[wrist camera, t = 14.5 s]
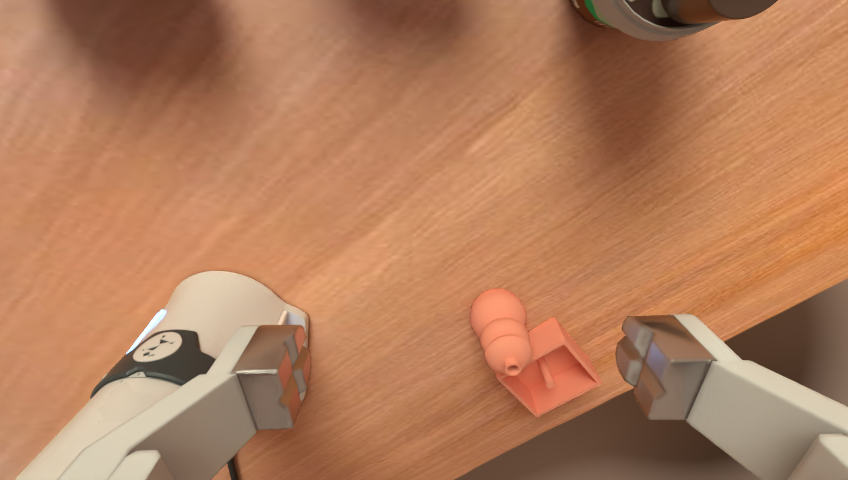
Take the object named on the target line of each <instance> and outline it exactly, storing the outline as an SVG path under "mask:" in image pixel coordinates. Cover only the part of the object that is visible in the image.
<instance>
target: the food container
mask: <svg viewBox="0 0 848 480" xmlns="http://www.w3.org/2000/svg"><path fill="white" fill-rule="evenodd" d="M570 2H571V4H572V6H573V7H574V9H575V10H576V11H577V12H578V13H579V15H580V16H581V17H582V18H583V19H584V20H586V21H588V22H590V23H592V24H594V25H596V26H598V27H605V28H617V29H619V30H620V31H621V32H623V33H625V34H627V35H630V36H632V37H634V38H638V39H642V40H646V41H668V40H676V39H679V38H683V37H686V36H689V35H692V34H694V33H697V32H699V31H701V30H704V29H706V28H708V27H710V26H713V25H715V24H717V23H719V22H721V21H718V22H708V23H699V24H682V23H679V22H676V21H674V20H673V19H671V18H670V17H669V16H668V15H667V13H666V12H665V10H664V8H663V6H662V3H661V0H570Z"/></svg>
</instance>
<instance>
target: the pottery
mask: <svg viewBox="0 0 848 480" xmlns="http://www.w3.org/2000/svg"><path fill="white" fill-rule="evenodd" d="M470 322H471V325H472V328H473V330H474V332H475V333H476V334H477V335H478V336H479V337H480V338H481V346H482V349H483V350H484V352H485V358H486V361H487V363H488V364H489V366H490V367H491V368H492V369H493V370H494V371H495V373H496V378H497V380H498V381H499V382H500V383H502V384H503V385H504V386H505V387H506V388H507V389H508V390H509V391H510V392H511V393H512V394H513V395H514V396H515V397H516V398H517V399H518V400H519V401H520V402H521V403H522V404H523V405H524V406H525V407H526V408H527V409H528V410H529V411H530V412H531V413H532V414H533V415H535V416H536V417H539V416H541V415H542V414H544V413H546V412H548V411H550V410H552V409H554V408H556V407H558V406H560V405H562V404H564V403H566V402H568V401H570V400H572V399H574V398H576V397H578V396H580V395H582V394H584V393H586V392H587V391H589V390H591V389H593V388H595V387H597V386H599V385H601V384H603V383H602V382H601V380H600V378H599V376H598V374H597V372H596V371H595V369H594V367H593V365H592V363H591V362H590V360H589V358H588V357H587V356H586V355H585V353H584V352H583V351H582V350H581V349H580V347H579V346H578V345H577V344H576V343H575V342H574V340H573V339H572V338H571V337H570V336H569V334H568V333H567V332H566V331H565V330H564V328H563V327H562V326H561V325H560V324H559V323H558V321H557V320H556V319H555V318H554V317H552V318H550V319H549V320H547V321H545V322H544V323H542V324H540V325H539V326H537V327H535V328H534V329H532V330H530V331H529V332H527V330H526V328H525V325H526V311H525V308H524V306H523V304H522V303H521V301H520V300H519V299H518V298H517V297H516V296H515V295H514V294H513V293H512V292H510V291H508V290H504V289H491V290H487V291H485V292H483V293H481V294H480V295H479V296H478V297H477V298H476V299H475V300H474V302H473V304H472V308H471V314H470Z"/></svg>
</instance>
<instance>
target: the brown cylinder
mask: <svg viewBox="0 0 848 480" xmlns="http://www.w3.org/2000/svg"><path fill="white" fill-rule="evenodd" d="M776 1H778V0H661V3H662V6H663V8H664V10H665V12H666V13H667V15H668V16H669V17H670V18H671V19H673V20H674V21H676V22H679V23H682V24H699V23H708V22H718V21H728V20H737V19H745V18H749V17H752V16H754V15H757V14H759V13H761V12H763V11H764V10H766V9H767V8H769V7H770V6H772V5H773V4H774V3H775V2H776Z"/></svg>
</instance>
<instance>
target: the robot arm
mask: <svg viewBox="0 0 848 480" xmlns="http://www.w3.org/2000/svg"><path fill="white" fill-rule="evenodd" d="M308 328H309V318H308V315H307V314H306V313H305V312H303V311H302V310H300V309H298V308H296V307H294V306H292V305H289V304H287V303H285V302H284V301H282V300H281V299H280V298H279V297H278V296H277V295H276V294H275V293H274V292H272V291H271V290H270V289H269V288H267V287H266V286H264V285H263V284H261V283H260V282H258V281H256V280H254V279H252V278H249V277H247V276H244V275H241V274H238V273H233V272H227V271H207V272H201V273H198V274H195V275H192V276H190V277H188V278H186V279H185V280H183V281H182V282H181V283H180V284H179V285H178V286H177V287H176V289H175V290H174V292H173V294H172V296H171V298H170V300H169V301H168V303H167V305H166V306H165V308H164V309H162V310H161V311H160V312H159V313H157V315H156V316H155V317H154V318H153V320H152V321H151V322H150V324H149V325H148V326H147V328H146V329H145V330H144V332H143V333H142V334H141V335H140V337H139V338H138V339H137V341H136V342H135V343H134V345H133V346H132V347H131V349H130V350H129V351H128V352H127V354H126V355H125V356H124V357H123V358H122V359H121V360H120V361H119V362H118V363H117V364H116V365H115V366H114V367H113V368H112V369H111V370H110V371H109V373H107V374H106V375H105V376H104V377H103V378H102V379H101V381H100V382H99V384H98V385H97V386H96V387H95V388H94V390H93V391H92V394H91V397H90V400H89V401H88V402H87V404H86V405H85V406H84V407H83V408H82V409H81V410H80V411H79V412H78V413H77V414H76V415H75V416H74V417H73V418H72V419H71V420H70V421H69V422H68V423H67V424H66V425H65V427H64V428H63V429H62V430H61V431H60V432H59V433H58V434H57V435H56V436H55V437H54V438H53V439H52V440H51V441H50V442H49V443H48V444H47V445H46V446H45V448H44V449H43V450H42V451H41V452H40V453H39V454H38V455H37V456H36V457H35V458H34V459H33V460H32V461H31V462H30V463H29V464H28V465H27V466H26V467H25V469H24V470H23V471H22V472H21V473H20V474H19V475H18V476H17V477H16V479H15V480H211V479H212V478H213V477H214V476H215V475H216V474H217V473H218V472H219V471H220V470H221V469H222V468H223V467H224V466H225V465H226V464H227V463H228V468H229V472H230V476H231V480H238V478H237V473H236V469H235V465H234V460H233V456H234V455H235V454H236V453H237V452H238V451H239V450H240V449H241V448H242V447H243V446H244V445H245V444H246V443H247V442H248V441H249V440H250V439H251V438H252V437H253V436H254V435H255V434H256V433H257V431H256V430H268V429H287V428H293V427H294V424H295V421H296V418H297V415H298V413H299V410H300V407H301V401H302V400H303V399H304V397H305V395H306V389H307V386H308V383H309V380H310V374H311V356H310V351H309V350H308ZM622 331H623V332H624V334H625V335H626V336H625V337H624V338H622V339H621V340H620V341H619V342H618V344H617V348H616V353H615V354H616V364H617V367H618V369H619V372H620V374H621V375H622V377H623V379H624V381H626V382H627V383H629V384H630V385H632V386H633V387H635V393H634V397H635V398H636V400H637V401H638V403H639V405H640V406H641V408H642V409H643V411H644V412H645V414H646V416H647V417H648V419H653V420H660V419H661V420H678V419H679V420H686V422H687V423H689V424H690V425H691V426H692V427H694V428H695V429H696V430H698V431H699V432H700V433H701V434H703V435H704V436H705V437H707V438H708V439H709V440H710V441H712V442H713V443H715V444H716V445H717V446H718V447H720V448H721V449H722V450H723V451H725V452H726V453H727V454H729V455H730V456H731V457H732V458H734V459H735V460H736V461H738V462H739V463H740V464H741V465H743V466H744V467H745V468H746V469H748V470H749V471H750V472H752V473H753V474H754V475H756V476H757V477H758V478H759V479H761V480H848V407H847V406H845V405H843V404H840V403H838V402H836V401H834V400H832V399H830V398H828V397H826V396H824V395H821V394H819V393H817V392H815V391H813V390H811V389H809V388H807V387H805V386H802V385H800V384H798V383H796V382H794V381H792V380H790V379H788V378H785V377H783V376H781V375H779V374H777V373H775V372H773V371H771V370H769V369H767V368H764V367H762V366H760V365H758V364H756V363H754V362H752V361H749V360H748V361H743V360H742V359H740V358H739V357H738V356H737V355H736V354H735V353H734V352H733V351H732V350H731V349H730V348H729V347H728V346H727V345H726V344H725V343H724V342H723V341H722V340H721V339H719V338H718V337H717V336H716V335H715V334H714V333H713V332H712V331H711V330H710V329H709V328H708V327H707V326H706V325H705V324H704V323H703V322H702V321H701V320H699V319H698V318H697V317H696V316H694V315H692V314H690V313H688V314H669V315H652V316H627V318H626V319H625V320H624V322H623V325H622Z"/></svg>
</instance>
